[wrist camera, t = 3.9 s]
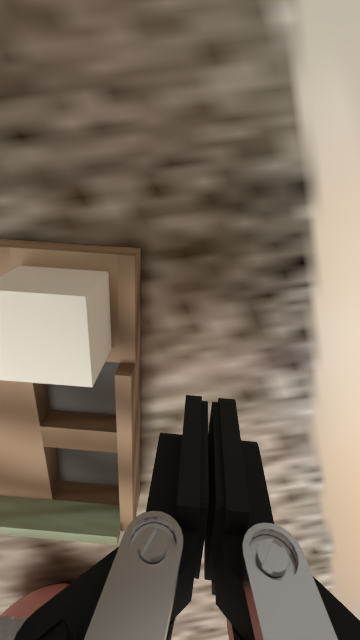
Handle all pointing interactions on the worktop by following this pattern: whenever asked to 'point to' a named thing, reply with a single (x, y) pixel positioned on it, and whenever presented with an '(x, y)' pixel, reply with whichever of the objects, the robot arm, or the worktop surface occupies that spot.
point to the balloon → (33, 601)
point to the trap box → (75, 417)
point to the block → (54, 325)
